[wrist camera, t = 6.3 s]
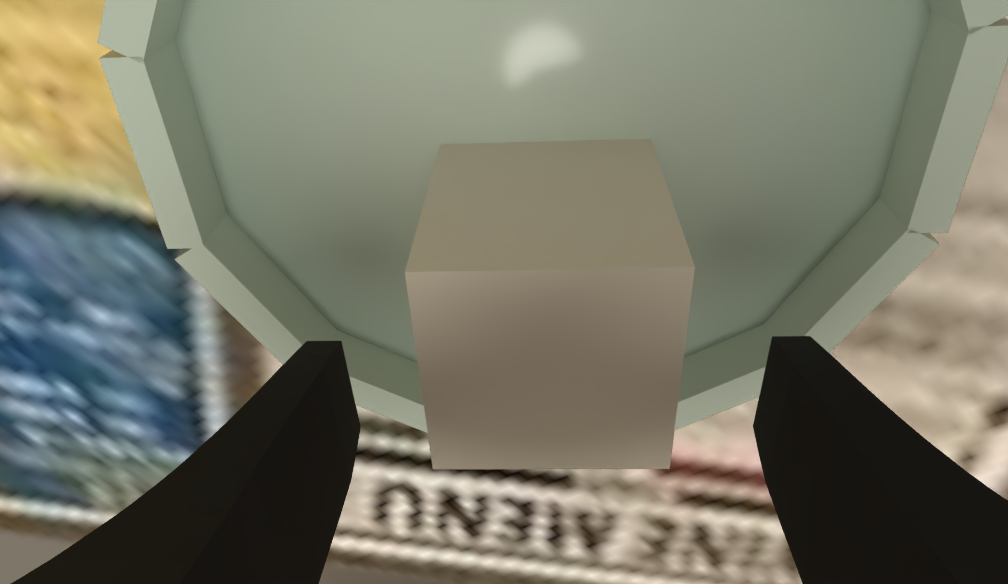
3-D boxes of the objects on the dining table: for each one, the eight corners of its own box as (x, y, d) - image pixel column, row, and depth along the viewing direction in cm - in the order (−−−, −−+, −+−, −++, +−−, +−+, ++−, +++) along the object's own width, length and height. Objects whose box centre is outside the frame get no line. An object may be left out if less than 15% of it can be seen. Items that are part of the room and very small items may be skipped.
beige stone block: (650, 138, 15) (695, 267, 11) (637, 310, 17) (669, 468, 13) (440, 144, 15) (405, 272, 11) (456, 312, 18) (433, 469, 13)
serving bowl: (1091, -442, 10) (1197, -488, 9) (844, 389, 19) (873, 444, 18) (23, -367, 11) (-65, -396, 10) (263, 395, 20) (238, 448, 19)
